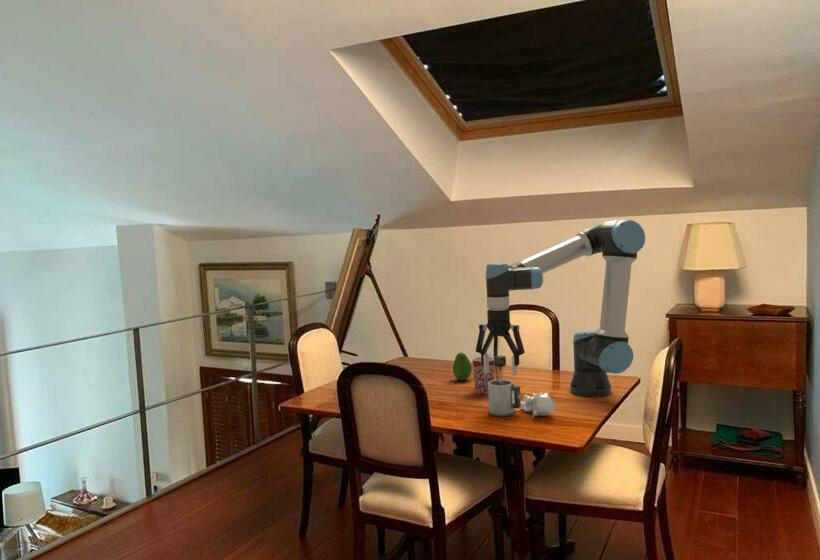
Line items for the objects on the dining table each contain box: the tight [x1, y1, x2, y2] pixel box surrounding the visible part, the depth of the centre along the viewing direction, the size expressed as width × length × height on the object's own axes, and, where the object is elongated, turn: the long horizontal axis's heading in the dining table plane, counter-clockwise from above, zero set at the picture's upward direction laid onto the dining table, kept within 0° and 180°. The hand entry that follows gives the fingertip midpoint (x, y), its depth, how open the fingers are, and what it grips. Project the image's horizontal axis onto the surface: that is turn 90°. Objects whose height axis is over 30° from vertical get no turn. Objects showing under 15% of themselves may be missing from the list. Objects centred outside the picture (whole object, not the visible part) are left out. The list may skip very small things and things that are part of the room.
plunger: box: [493, 355, 507, 385], centre depth 210 cm, size 6×6×17 cm
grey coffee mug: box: [487, 379, 521, 418], centre depth 210 cm, size 11×9×10 cm
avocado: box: [452, 352, 473, 381], centre depth 260 cm, size 8×8×12 cm
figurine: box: [520, 391, 556, 418], centre depth 208 cm, size 11×7×15 cm
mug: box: [471, 355, 496, 396], centre depth 240 cm, size 13×9×14 cm
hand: (500, 373), depth 210 cm, fingers open, 9 cm apart
